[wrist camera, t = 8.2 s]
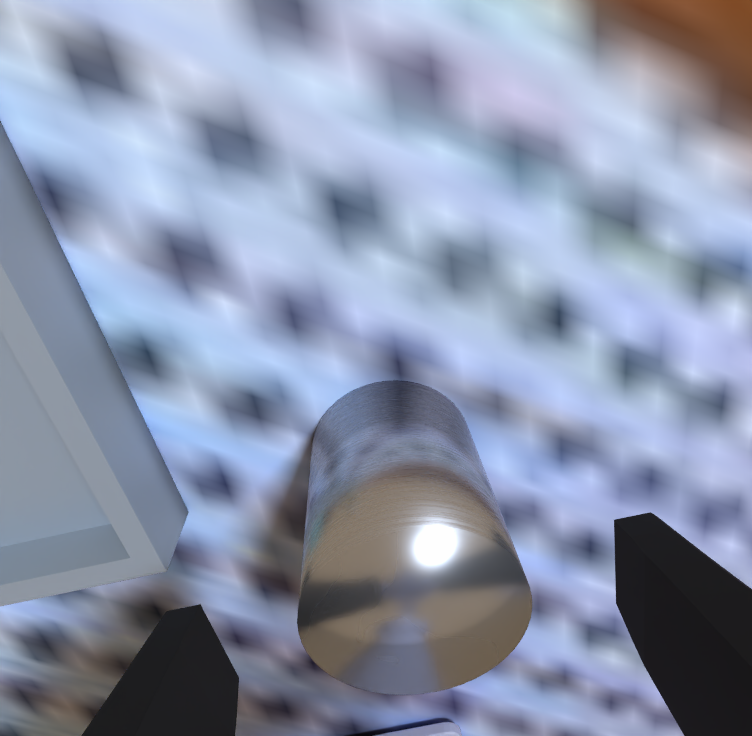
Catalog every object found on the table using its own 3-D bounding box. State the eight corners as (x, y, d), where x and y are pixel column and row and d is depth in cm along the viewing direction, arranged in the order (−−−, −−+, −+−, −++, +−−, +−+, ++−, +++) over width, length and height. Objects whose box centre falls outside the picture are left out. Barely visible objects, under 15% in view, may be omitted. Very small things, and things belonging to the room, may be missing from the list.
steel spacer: (479, 495, 15) (541, 670, 10) (334, 526, 15) (331, 711, 10) (457, 364, 13) (520, 506, 8) (292, 400, 13) (266, 559, 9)
